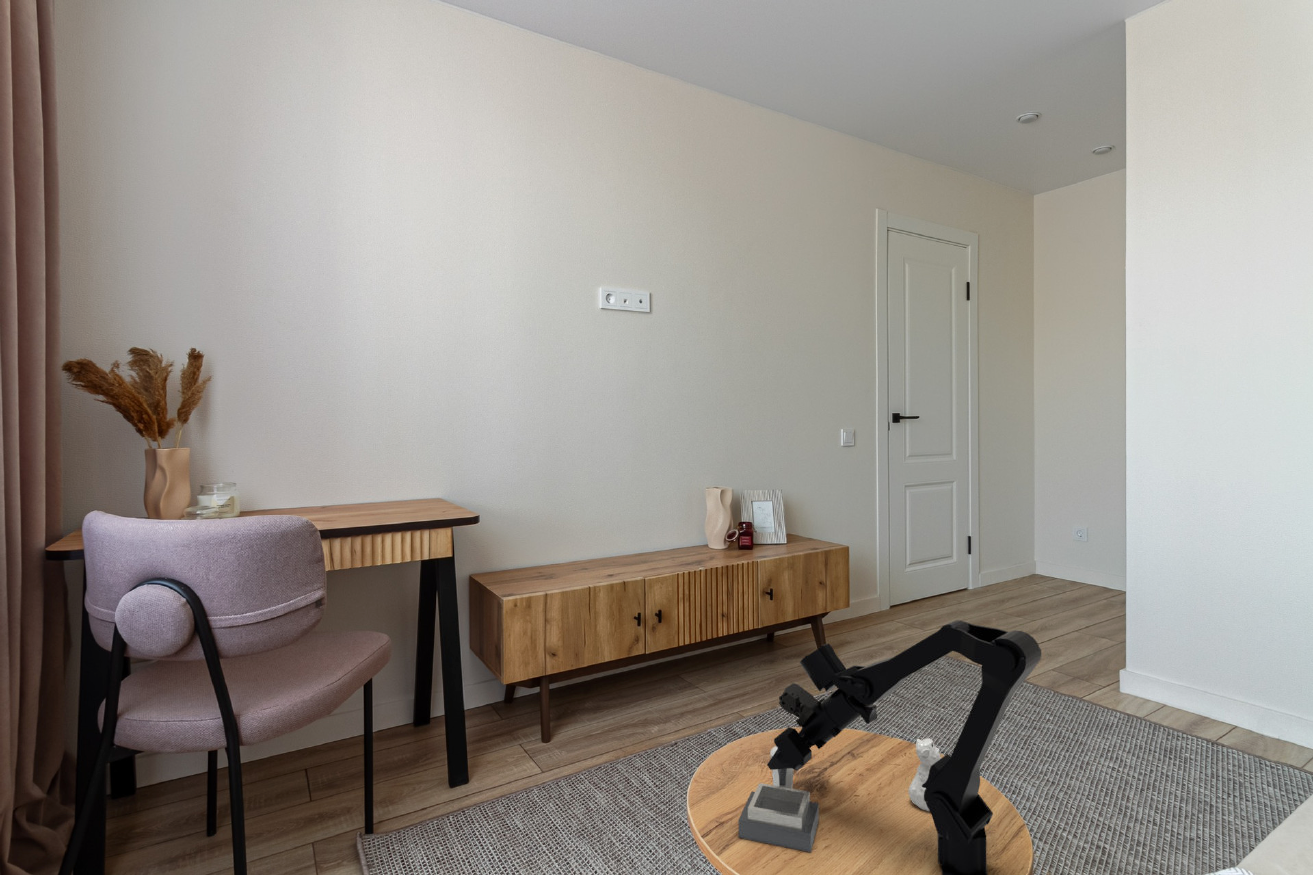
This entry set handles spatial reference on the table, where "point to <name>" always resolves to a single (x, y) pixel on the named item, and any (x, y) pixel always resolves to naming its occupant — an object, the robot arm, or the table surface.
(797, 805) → the grey open rectangular box
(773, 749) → the milkshake
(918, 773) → the seated beast figurine
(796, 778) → the table surface
